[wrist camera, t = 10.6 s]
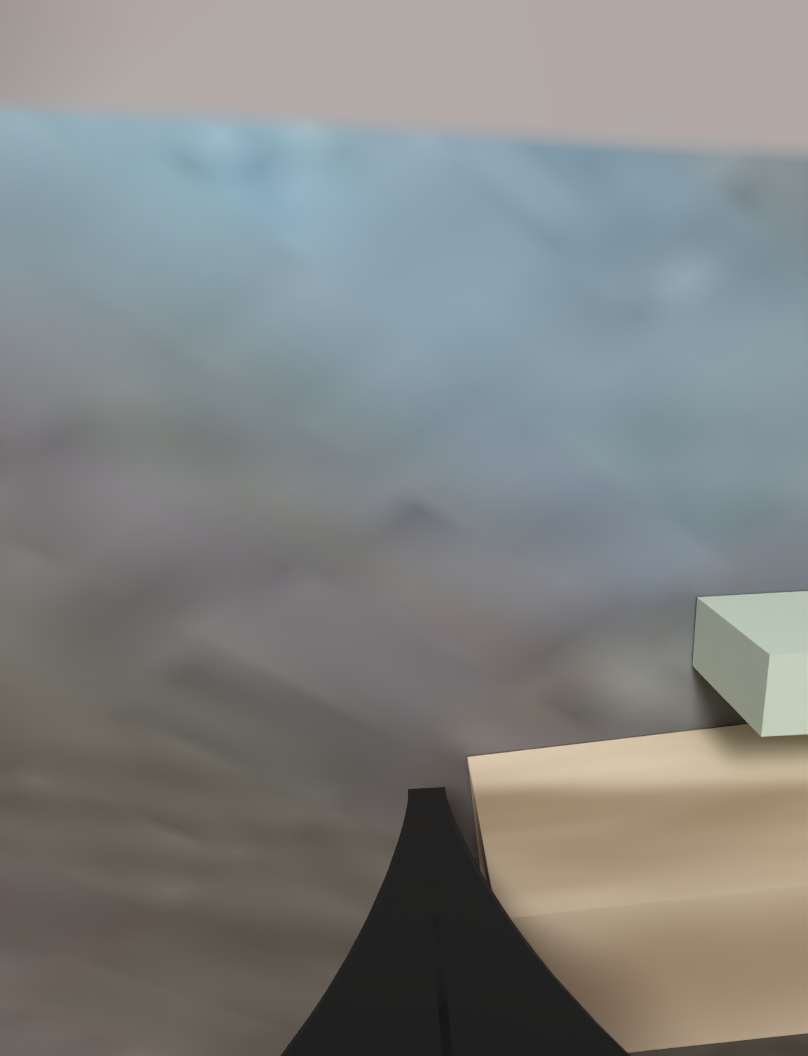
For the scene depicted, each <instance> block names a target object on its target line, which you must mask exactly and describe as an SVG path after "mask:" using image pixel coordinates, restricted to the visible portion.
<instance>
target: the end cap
mask: <svg viewBox="0 0 808 1056" xmlns="http://www.w3.org/2000/svg"><path fill="white" fill-rule="evenodd" d="M692 666H693V667H694V668H695V669H696V670H697V671H698V672H699V673H700V674H701V675H702V676H703V677H704V678H705V679H706V680H707V681H708V682H709V683H710V684H711V686H712V687H713V688H714V689H715V690H716V691H717V692H718V693H719V694H720V695H721V696H722V697H723V698H724V699H725V700H726V701H727V702H728V703H729V704H730V705H731V706H732V707H733V708H734V709H735V710H736V711H737V712H738V713H739V714H740V715H741V716H742V718H743V719H744V720H745V721H746V722H747V723H748V724H749V725H750V726H751V727H752V728H753V729H754V730H755V731H756V732H757V733H758V734H759V735H760V736H761V737H766V736H784V735H802V734H808V591H800V592H782V593H765V594H747V595H730V596H712V597H697V606H696V621H695V635H694V649H693V663H692Z"/></svg>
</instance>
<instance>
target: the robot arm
mask: <svg viewBox="0 0 808 1056" xmlns="http://www.w3.org/2000/svg"><path fill="white" fill-rule="evenodd" d="M281 1056H631V1055H630V1054H629V1053H627V1052H626V1051H625V1050H624V1049H623V1048H622V1047H621V1046H620V1045H619V1044H618V1043H617V1042H616V1041H615V1040H614V1039H613V1038H612V1037H611V1036H610V1035H609V1034H608V1033H607V1032H606V1031H605V1030H604V1029H603V1028H602V1027H601V1026H600V1025H599V1024H598V1023H597V1022H596V1021H595V1020H594V1019H593V1017H592V1016H591V1015H590V1014H589V1013H588V1012H587V1011H586V1010H585V1009H584V1008H583V1007H582V1005H581V1004H580V1003H579V1002H578V1001H577V1000H576V999H575V998H574V997H573V996H572V994H571V993H570V992H569V991H568V990H567V989H566V988H565V987H564V986H563V985H562V984H561V982H560V981H559V980H558V979H557V978H556V977H555V976H554V974H553V973H552V972H551V971H550V970H549V968H548V967H547V966H546V965H545V963H544V962H543V961H542V960H541V958H540V957H539V956H538V955H537V953H536V952H535V951H534V950H533V948H532V947H531V946H530V944H529V943H528V942H527V940H526V939H525V938H524V936H523V935H522V934H521V932H520V931H519V930H518V928H517V927H516V926H515V924H514V923H513V921H512V920H511V918H510V917H509V915H508V914H507V913H506V911H505V910H504V908H503V907H502V905H501V903H500V902H499V900H498V899H497V897H496V896H495V894H494V893H493V891H492V889H491V888H490V886H489V885H488V883H487V881H486V880H485V878H484V876H483V875H482V873H481V871H480V869H479V867H478V866H477V864H476V862H475V860H474V858H473V856H472V855H471V853H470V851H469V849H468V847H467V845H466V843H465V841H464V839H463V837H462V835H461V833H460V831H459V829H458V826H457V824H456V822H455V820H454V817H453V815H452V812H451V809H450V807H449V804H448V801H447V797H446V791H445V787H439V788H421V789H408V804H407V809H406V815H405V819H404V823H403V827H402V830H401V833H400V837H399V840H398V843H397V846H396V849H395V852H394V855H393V857H392V860H391V863H390V866H389V869H388V871H387V874H386V876H385V879H384V881H383V883H382V886H381V888H380V890H379V893H378V895H377V897H376V899H375V902H374V904H373V906H372V909H371V911H370V913H369V915H368V917H367V919H366V921H365V923H364V925H363V927H362V929H361V931H360V933H359V935H358V937H357V939H356V941H355V943H354V944H353V946H352V948H351V950H350V952H349V954H348V955H347V957H346V959H345V961H344V962H343V964H342V966H341V967H340V969H339V971H338V972H337V974H336V976H335V977H334V979H333V981H332V982H331V984H330V986H329V987H328V989H327V991H326V992H325V994H324V995H323V997H322V998H321V1000H320V1001H319V1003H318V1004H317V1006H316V1007H315V1009H314V1010H313V1012H312V1013H311V1015H310V1016H309V1018H308V1019H307V1020H306V1022H305V1023H304V1024H303V1026H302V1027H301V1029H300V1030H299V1031H298V1033H297V1034H296V1035H295V1037H294V1038H293V1040H292V1041H291V1042H290V1044H289V1045H288V1047H287V1048H286V1049H285V1051H284V1052H283V1053H282V1055H281Z"/></svg>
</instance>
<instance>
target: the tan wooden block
mask: <svg viewBox="0 0 808 1056" xmlns="http://www.w3.org/2000/svg"><path fill="white" fill-rule="evenodd" d="M467 758H468V767H469V776H470V784H471V793H472V802H473V811H474V819H475V828H476V837H477V846H478V855H479V863H480V871H481V873H482V875H483V876H484V878H485V880H486V881H487V883H488V885H489V886H490V888H491V889H492V891H493V893H494V894H495V896H496V897H497V899H498V900H499V902H500V903H501V905H502V907H503V908H504V910H505V911H506V913H507V914H508V915H509V917H510V918H511V920H512V921H513V923H514V924H515V926H516V927H517V928H518V930H519V931H520V932H521V934H522V935H523V936H524V938H525V939H526V940H527V942H528V943H529V944H530V946H531V947H532V948H533V950H534V951H535V952H536V953H537V955H538V956H539V957H540V958H541V960H542V961H543V962H544V963H545V965H546V966H547V967H548V968H549V970H550V971H551V972H552V973H553V974H554V976H555V977H556V978H557V979H558V980H559V981H560V982H561V984H562V985H563V986H564V987H565V988H566V989H567V990H568V991H569V992H570V993H571V994H572V996H573V997H574V998H575V999H576V1000H577V1001H578V1002H579V1003H580V1004H581V1005H582V1007H583V1008H584V1009H585V1010H586V1011H587V1012H588V1013H589V1014H590V1015H591V1016H592V1017H593V1019H594V1020H595V1021H596V1022H597V1023H598V1024H599V1025H600V1026H601V1027H602V1028H603V1029H604V1030H605V1031H606V1032H607V1033H608V1034H609V1035H610V1036H611V1037H612V1038H613V1039H614V1040H615V1041H616V1042H617V1043H618V1044H619V1045H620V1046H621V1047H622V1048H623V1049H624V1050H625V1051H626V1052H627V1053H629V1052H638V1051H648V1050H657V1049H666V1048H675V1047H684V1046H694V1045H703V1044H712V1043H721V1042H730V1041H739V1040H749V1039H758V1038H767V1037H776V1036H785V1035H795V1034H804V1033H808V734H802V735H784V736H766V737H761V736H760V735H759V734H758V733H757V732H756V731H755V730H754V729H753V728H752V727H751V726H750V725H749V724H743V725H735V726H727V727H718V728H710V729H701V730H693V731H684V732H676V733H667V734H659V735H650V736H642V737H633V738H625V739H616V740H608V741H600V742H591V743H583V744H574V745H566V746H557V747H549V748H540V749H532V750H523V751H515V752H506V753H498V754H489V755H481V756H473V757H467Z"/></svg>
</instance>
